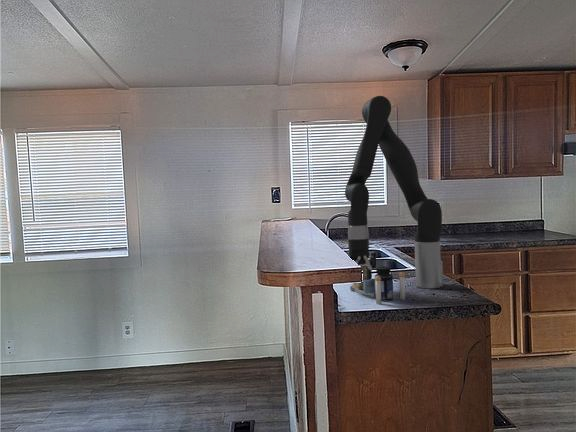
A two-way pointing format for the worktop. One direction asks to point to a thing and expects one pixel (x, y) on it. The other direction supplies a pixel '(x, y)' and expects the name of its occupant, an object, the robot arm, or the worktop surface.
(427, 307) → the worktop surface
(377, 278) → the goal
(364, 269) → the kicker
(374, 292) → the rail
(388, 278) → the pill bottle
